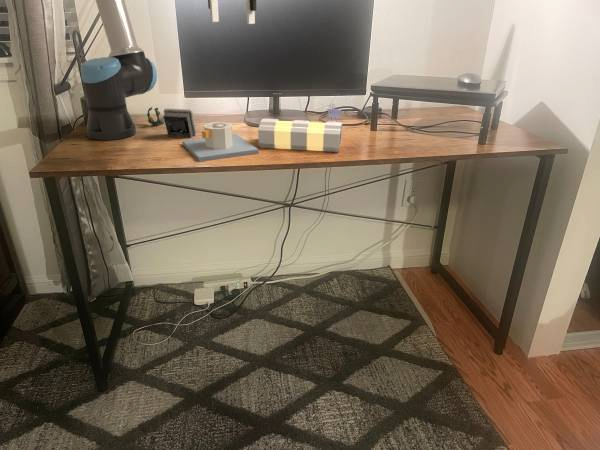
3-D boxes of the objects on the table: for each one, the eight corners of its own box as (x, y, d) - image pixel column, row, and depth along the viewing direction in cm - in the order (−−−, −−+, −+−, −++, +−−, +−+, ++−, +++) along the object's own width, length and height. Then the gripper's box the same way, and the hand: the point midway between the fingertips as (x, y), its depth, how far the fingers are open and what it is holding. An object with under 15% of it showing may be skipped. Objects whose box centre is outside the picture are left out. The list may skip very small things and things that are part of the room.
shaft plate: (182, 144, 139) (180, 121, 136) (236, 137, 147) (235, 115, 143) (199, 161, 125) (197, 136, 122) (258, 153, 133) (257, 129, 129)
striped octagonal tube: (341, 144, 144) (343, 103, 138) (339, 153, 135) (342, 110, 129) (265, 139, 146) (264, 99, 140) (258, 149, 137) (257, 106, 131)
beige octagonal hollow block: (195, 147, 132) (193, 127, 130) (217, 139, 140) (216, 120, 137) (215, 152, 129) (214, 131, 126) (237, 144, 136) (236, 124, 134)
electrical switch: (197, 135, 149) (193, 107, 144) (192, 140, 145) (188, 112, 140) (170, 133, 150) (165, 106, 145) (164, 139, 145) (159, 111, 140)
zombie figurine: (178, 101, 164) (152, 110, 152) (180, 120, 167) (155, 130, 155) (166, 100, 166) (139, 108, 153) (168, 118, 169) (142, 128, 157)
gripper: (185, -63, 123) (192, 21, 133) (257, -68, 112) (259, 25, 121) (203, -60, 129) (209, 20, 139) (274, -64, 117) (274, 24, 127)
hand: (232, 22), depth 130 cm, fingers open, 13 cm apart
